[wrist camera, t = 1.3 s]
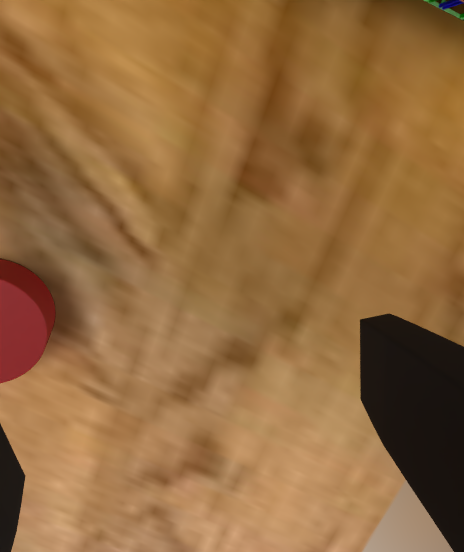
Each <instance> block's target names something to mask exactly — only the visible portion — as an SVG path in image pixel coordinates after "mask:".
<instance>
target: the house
mask: <svg viewBox="0 0 464 552" xmlns="http://www.w3.org/2000/svg"><path fill="white" fill-rule="evenodd" d="M424 1H426V2H428V3H430V4H432V5H434V6H436V7H438V8H439V9H441V10H443V11H445V12H447V13H449V14H451V15H453V16H455V17H457V18H459V19H461V20H463V21H464V13H463V14H459V13H457V12H455V11H453V10H451V9H449V8H450V7H453V6H456V5H460V4H463V3H464V0H449V1H446V0H442V1H441V4H439V3H437V2H435V1H437V0H424ZM445 1H446V2H445Z"/></svg>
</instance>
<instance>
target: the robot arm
mask: <svg viewBox="0 0 464 552" xmlns="http://www.w3.org/2000/svg"><path fill="white" fill-rule="evenodd" d="M360 378H361V401H362V403H363V405H364V407H365V409H366V411H367V413H368V416H369V418H370V420H371V422H372V424H373V426H374V428H375V430H376V432H377V434H378V436H379V437H380V439H381V441H382V443H383V445H384V447H385V448H386V450H387V451H388V453H389V454H390V456H391V457H392V459H393V460H394V462H395V464H396V465H397V467H398V468H399V470H400V471H401V473H402V474H403V476H404V477H405V479H406V480H407V482H408V483H409V485H410V486H411V488H412V489H413V491H414V492H415V494H416V495H417V497H418V498H419V500H420V501H421V503H422V504H423V506H424V507H425V509H426V510H427V512H428V513H429V515H430V516H431V518H432V519H433V521H434V522H435V524H436V525H437V527H438V528H439V530H440V531H441V533H442V534H443V536H444V537H445V539H446V540H447V542H448V543H449V545H450V546H451V548H452V549H453V551H454V552H464V347H463V346H461V345H459V344H456V343H454V342H452V341H450V340H448V339H446V338H444V337H441V336H439V335H437V334H435V333H433V332H431V331H428V330H426V329H424V328H422V327H420V326H418V325H415V324H413V323H411V322H409V321H406V320H404V319H402V318H399V317H397V316H394V315H392V314H384V315H380V316H375V317H370V318H365V319H361V320H360ZM24 481H25V474H24V472H23V470H22V468H21V466H20V464H19V462H18V460H17V458H16V456H15V454H14V451H13V449H12V447H11V445H10V443H9V441H8V439H7V437H6V435H5V433H4V431H3V428H2V426H1V424H0V552H11V549H12V546H13V542H14V538H15V535H16V531H17V525H18V520H19V514H20V508H21V502H22V495H23V488H24Z"/></svg>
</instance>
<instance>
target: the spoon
mask: <svg viewBox="0 0 464 552" xmlns="http://www.w3.org/2000/svg"><path fill="white" fill-rule="evenodd" d="M54 322H55V305H54V301H53V298H52V296H51V293H50V292H49V290H48V288H47V287H46V285H45V284H44V283H43V282H42V281H41V280H40V279H39V278H38V277H37V276H36V275H35V274H34V273H32V272H31V271H30V270H28V269H26V268H25V267H23V266H21V265H19V264H16V263H13V262H10V261H7V260H2V259H0V383H3V382H7V381H10V380H13V379H15V378H17V377H19V376H21V375H23V374H25V373H26V372H27V371H29V370H30V369H31V368H32V367H33V366H34V365H35V364H36V363H37V362H38V360H39V359H40V358H41V356H42V354H43V352H44V349H45V347H46V344H47V342H48V339H49V337H50V334H51V331H52V329H53V326H54Z"/></svg>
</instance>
